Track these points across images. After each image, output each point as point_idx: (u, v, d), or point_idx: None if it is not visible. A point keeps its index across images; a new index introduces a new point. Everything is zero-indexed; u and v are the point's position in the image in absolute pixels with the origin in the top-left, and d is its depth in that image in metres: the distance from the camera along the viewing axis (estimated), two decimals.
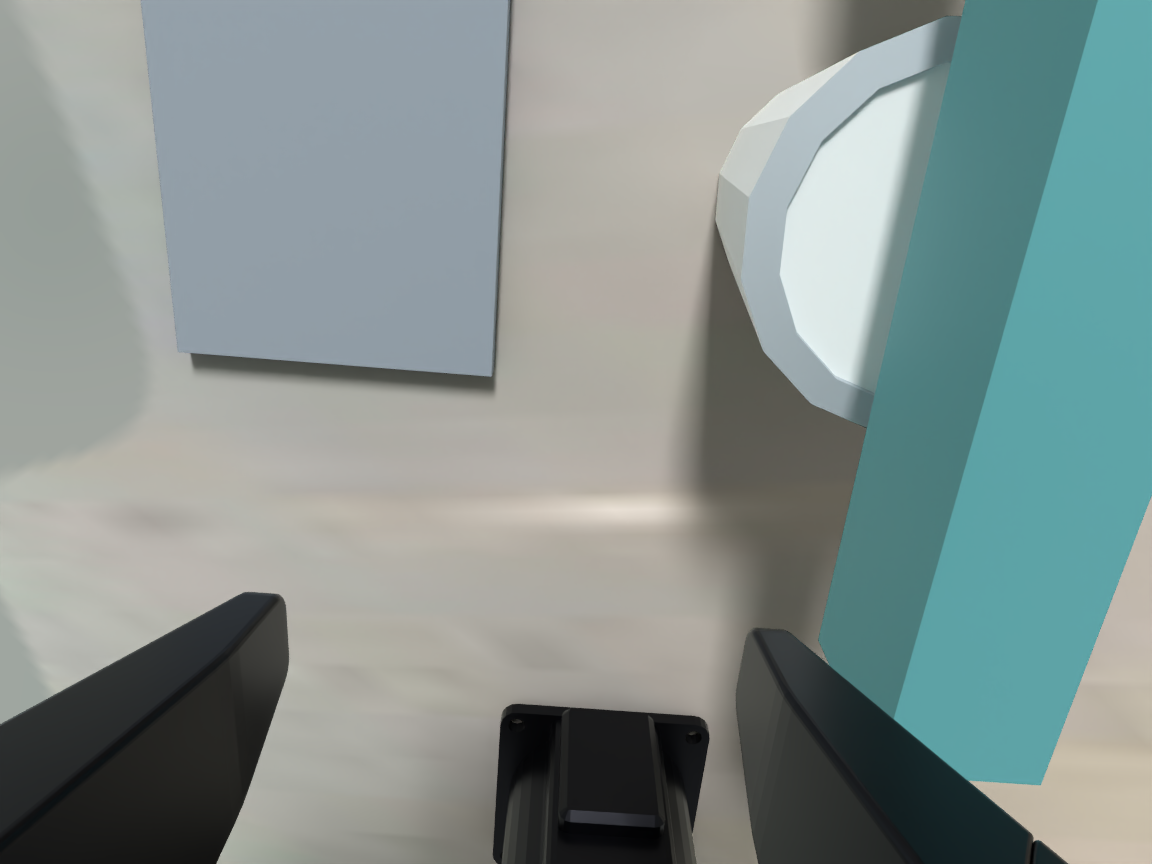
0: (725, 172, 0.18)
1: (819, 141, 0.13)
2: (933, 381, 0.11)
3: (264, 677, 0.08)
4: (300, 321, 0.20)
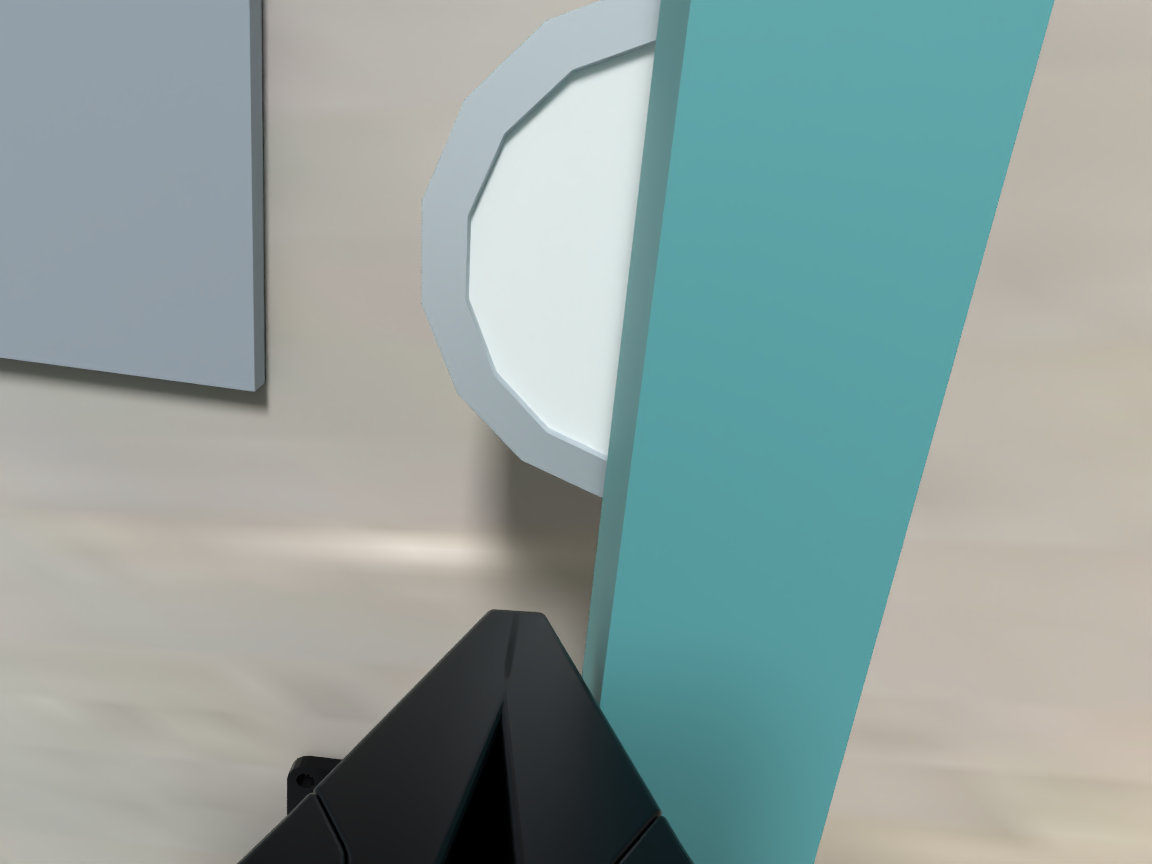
0: None
1: (503, 134, 0.10)
2: (617, 471, 0.08)
3: None
4: (28, 315, 0.18)
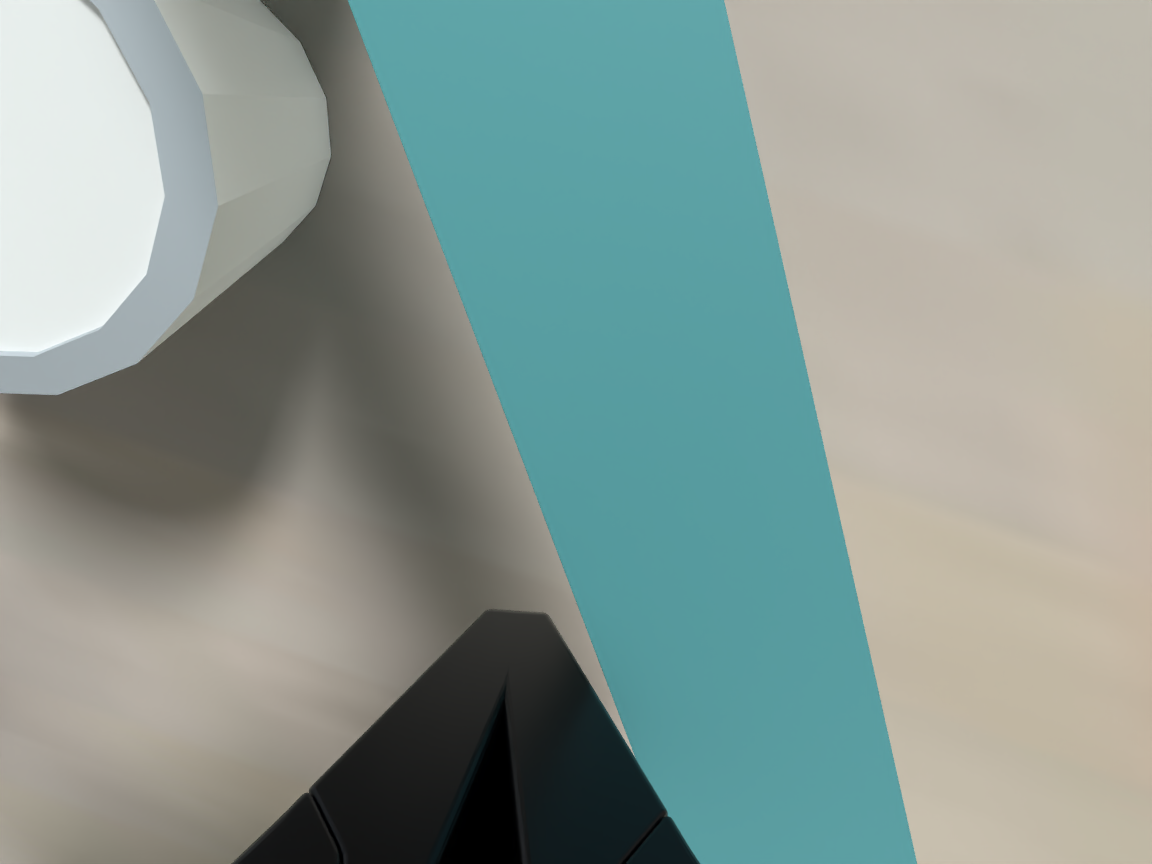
0: None
1: None
2: None
3: None
4: None
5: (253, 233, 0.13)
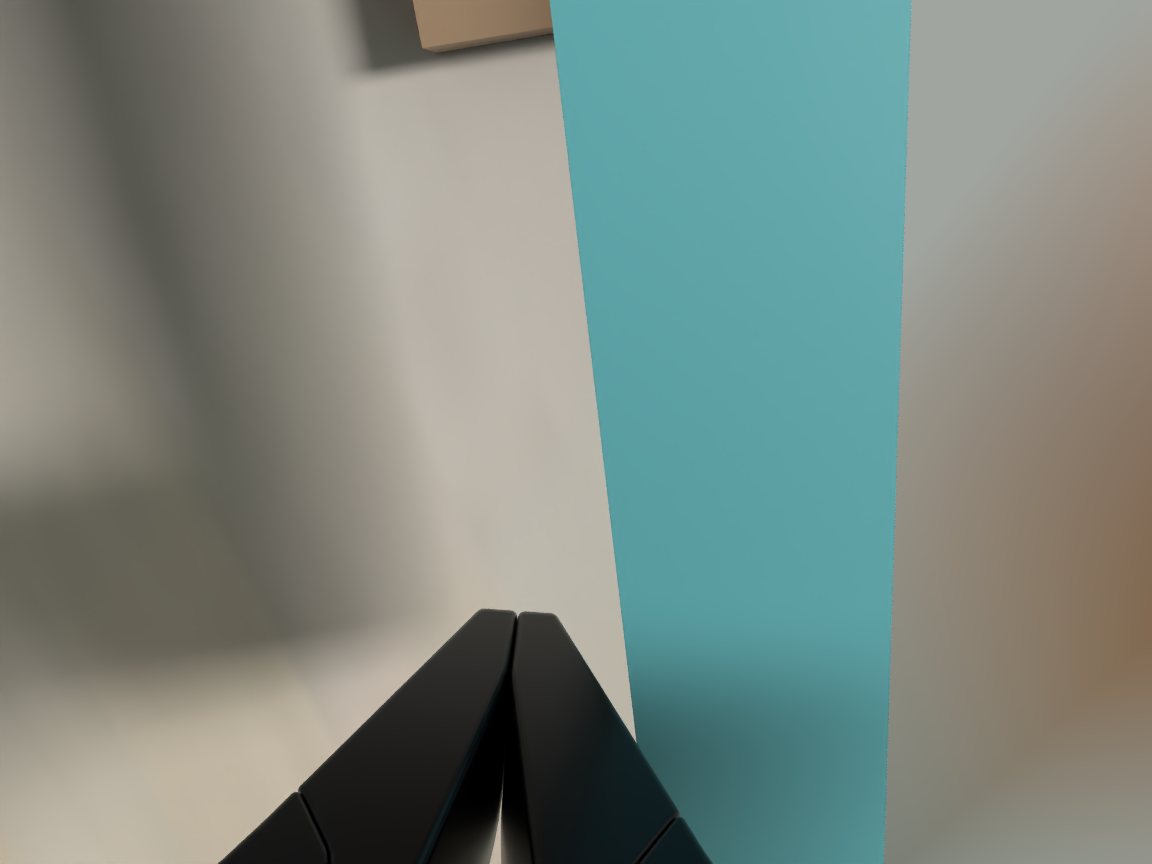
0: None
1: None
2: None
3: None
4: None
5: None
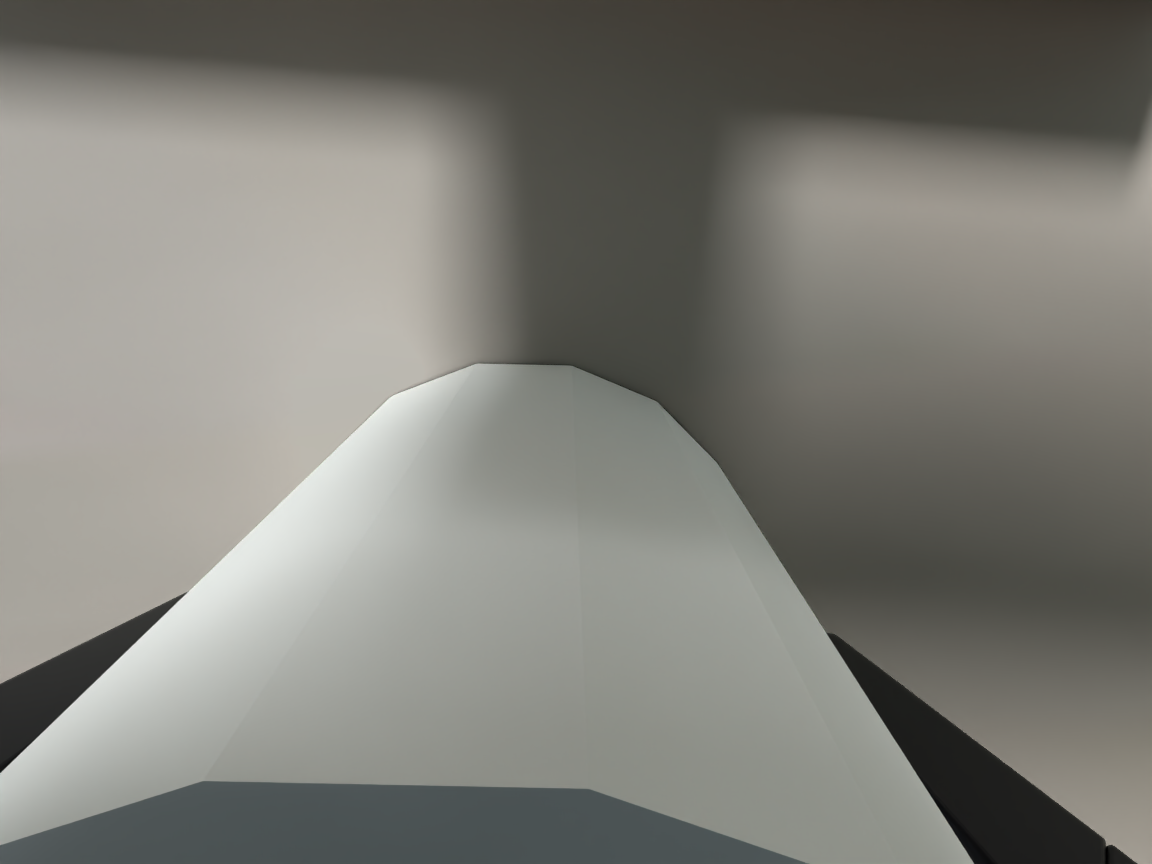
0: None
1: None
2: None
3: None
4: None
5: None
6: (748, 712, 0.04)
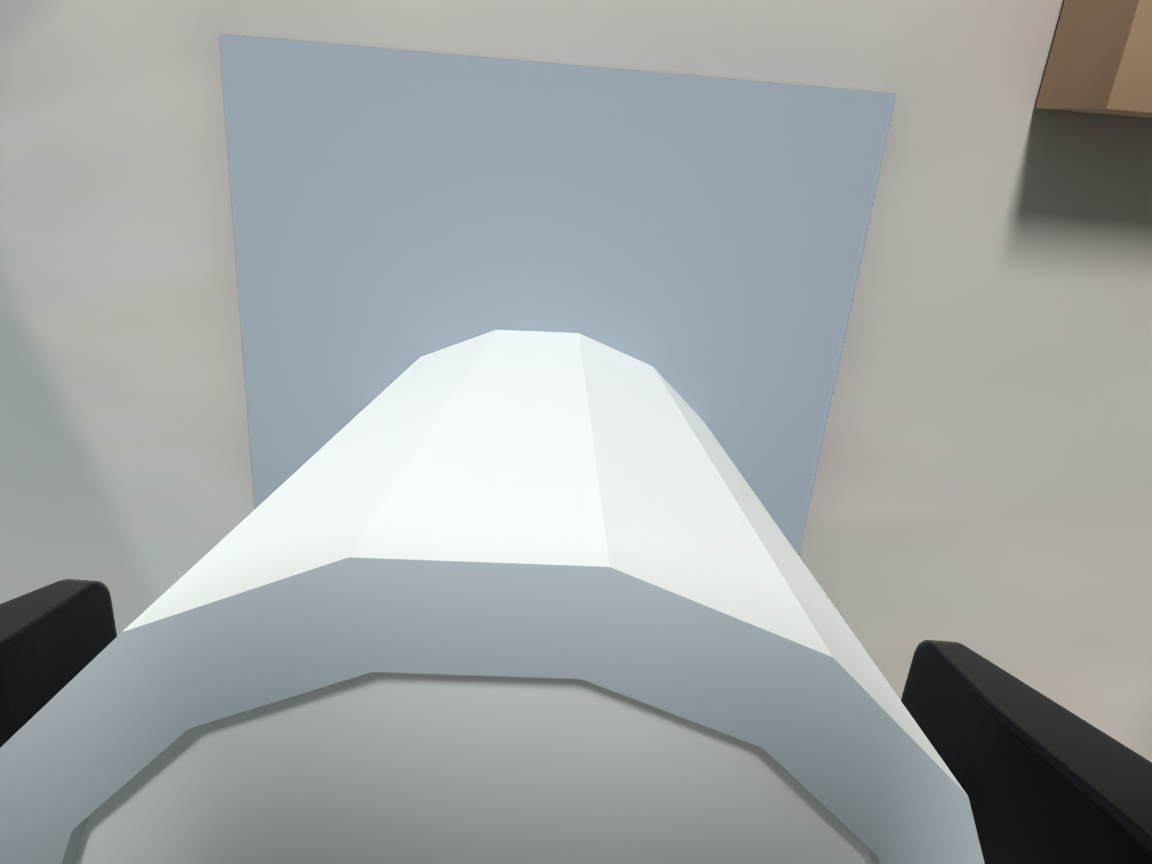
0: None
1: (76, 821, 0.05)
2: None
3: (77, 664, 0.08)
4: None
5: None
6: (721, 555, 0.05)
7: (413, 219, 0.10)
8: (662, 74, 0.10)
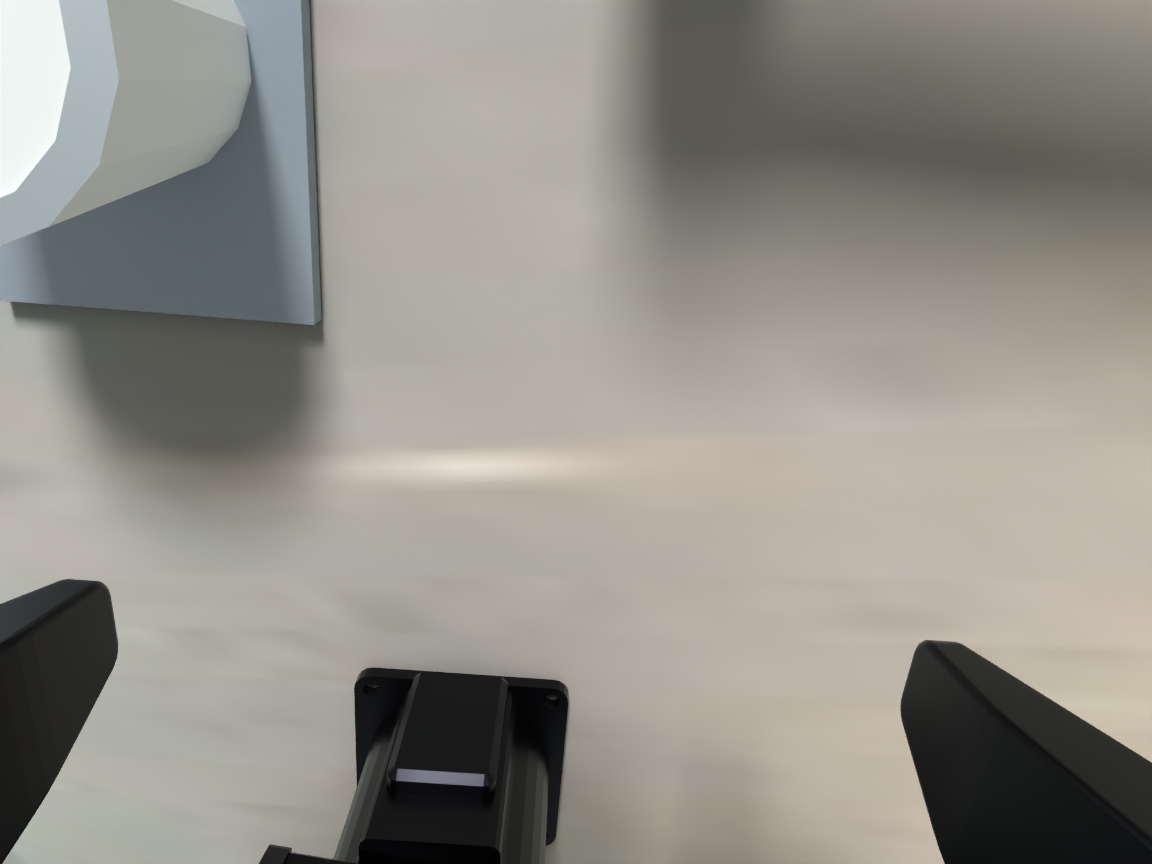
0: None
1: None
2: None
3: (77, 664, 0.08)
4: (113, 267, 0.20)
5: (171, 52, 0.14)
6: None
7: None
8: None
